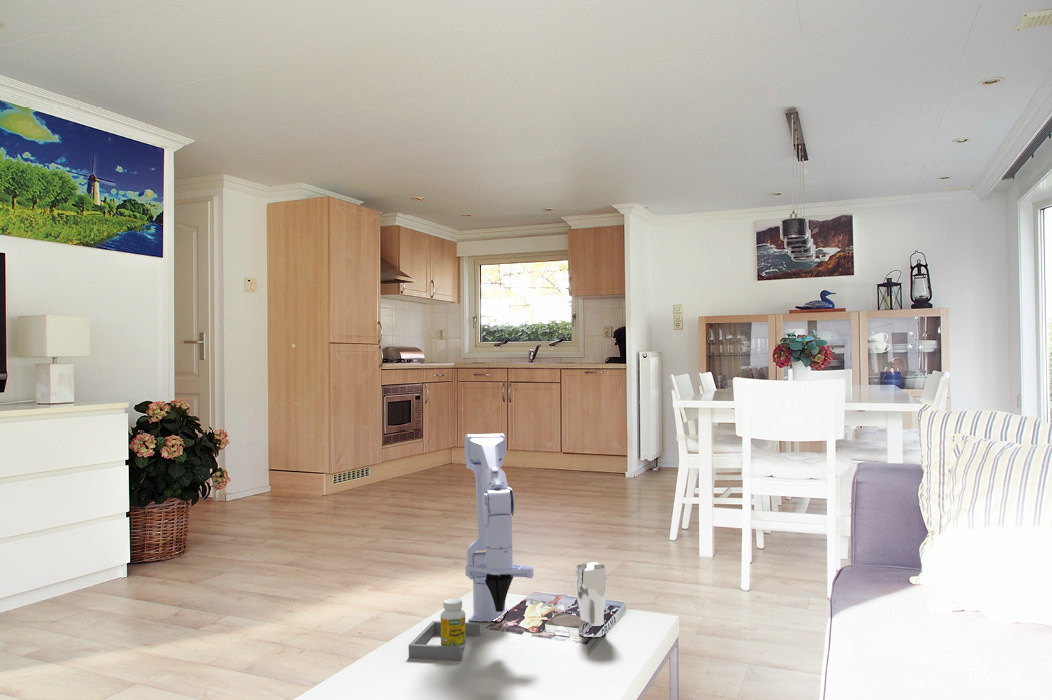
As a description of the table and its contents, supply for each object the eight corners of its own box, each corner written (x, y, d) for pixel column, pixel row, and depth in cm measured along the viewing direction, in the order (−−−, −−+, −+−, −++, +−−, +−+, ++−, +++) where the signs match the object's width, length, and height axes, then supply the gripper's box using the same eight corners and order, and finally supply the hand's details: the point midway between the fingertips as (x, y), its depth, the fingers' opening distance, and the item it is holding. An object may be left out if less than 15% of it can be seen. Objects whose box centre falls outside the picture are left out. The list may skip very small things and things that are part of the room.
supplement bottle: (458, 640, 164) (458, 596, 164) (470, 647, 159) (470, 601, 160) (436, 645, 161) (436, 600, 161) (447, 652, 156) (447, 606, 157)
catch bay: (432, 632, 169) (432, 620, 169) (480, 634, 167) (480, 623, 167) (408, 657, 154) (408, 645, 154) (460, 660, 152) (460, 648, 152)
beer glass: (607, 628, 169) (606, 562, 170) (608, 639, 163) (606, 570, 163) (577, 628, 170) (575, 562, 171) (576, 638, 163) (574, 570, 164)
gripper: (461, 549, 157) (461, 614, 156) (528, 551, 154) (529, 617, 153) (470, 542, 163) (471, 604, 163) (534, 543, 161) (536, 607, 160)
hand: (499, 610), depth 159 cm, fingers closed
